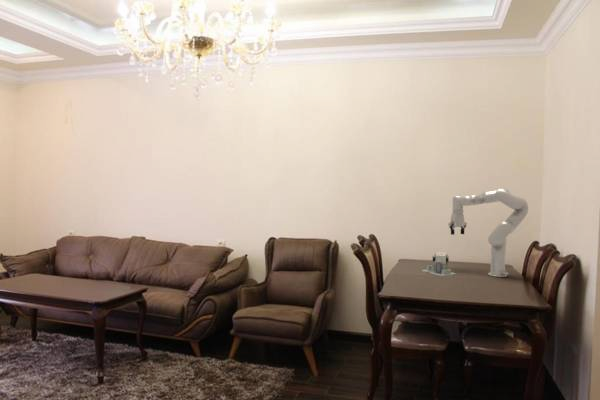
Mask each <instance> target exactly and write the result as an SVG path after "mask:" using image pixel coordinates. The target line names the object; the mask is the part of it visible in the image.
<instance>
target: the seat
mask: <svg viewBox="0 0 600 400" xmlns="http://www.w3.org/2000/svg"><path fill="white" fill-rule="evenodd" d="M426 266H427V267H426V269H422V270H421V271H422V272H423V273H429V274H432V275H434V276H435V275H436V276H438V277H443V276H444V277H445V276H456V273H455V272H452V269H451V268H444V269H442V272H438V271H434V264H433V265H431V264H430V265H426Z"/></svg>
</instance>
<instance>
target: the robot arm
mask: <svg viewBox="0 0 600 400" xmlns="http://www.w3.org/2000/svg"><path fill="white" fill-rule="evenodd" d="M496 202H497V203H499V202H500V203H502V204H504V205H505V206H507V207H509V208H510V209H512V210H513V212H511V214H510V215H509V216H508V218H506V219H505V220H504V221H500V223H498V225H497V226H495V228H494V229H493V231H491V233H490V234H489V236H488V239H487V241H488V243H489V244H490V246H491V248H490V271H489V272H488V273H487V275H488V276H490V277H498V278H503V277H504V278H505V277H508V275H509V272H507V270H506V247H507V237H508V236H509V235H510V234H512V233H514V232H515V230H516V229H517V227H518V226H520V224H521V223H522V221H523V220H525V218H526V216H527V214H528V212H529V205H528V202H527V200H526V199H524V198H523V197H519V196H518V197H517V196H515V195H513V194H512V193H511V191H509V189H507V188H498V189H495V190H490V191H489V190H487V191H484V192H482V193H478V194H473V195H453V196H452V213H451V216H450V222H449V223H448V228H449V229H450V235H453V236H455V228H459V227H460V235H465V229H466V228H467V226H468V225H467V224H468V223H467V222H466V221H465V216H464V215H465V214H464V206H466V207H469V206H476V205H482V204H490V203H491V204H492V203H496Z"/></svg>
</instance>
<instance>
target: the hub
mask: <svg viewBox="0 0 600 400" xmlns="http://www.w3.org/2000/svg"><path fill="white" fill-rule="evenodd" d="M433 265H434V271H438V272H442V269H445V264H444V263H443V262H434V261H433Z"/></svg>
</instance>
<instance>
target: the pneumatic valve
mask: <svg viewBox="0 0 600 400" xmlns="http://www.w3.org/2000/svg"><path fill="white" fill-rule="evenodd" d="M432 262H433V263H434V262H443V263H444V265H445V264H447V263H449V256H448V255H447V254H442V253H439V254H434V255H432Z"/></svg>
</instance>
